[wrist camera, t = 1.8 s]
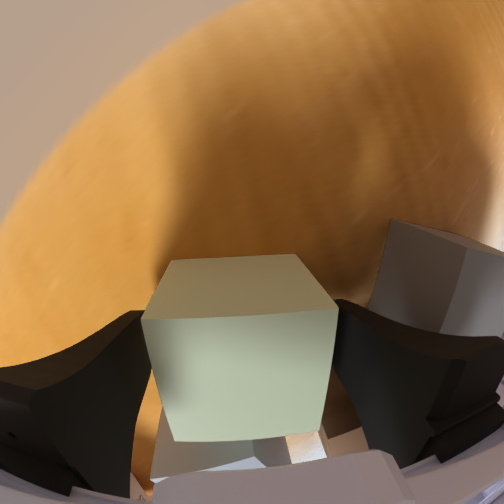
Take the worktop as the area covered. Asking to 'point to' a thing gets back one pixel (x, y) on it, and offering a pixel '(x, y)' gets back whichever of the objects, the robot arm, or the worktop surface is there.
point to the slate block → (213, 454)
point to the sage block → (240, 347)
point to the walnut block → (340, 421)
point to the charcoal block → (440, 282)
